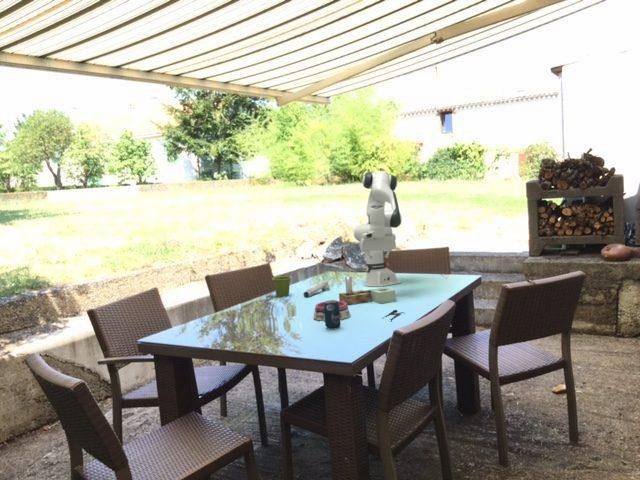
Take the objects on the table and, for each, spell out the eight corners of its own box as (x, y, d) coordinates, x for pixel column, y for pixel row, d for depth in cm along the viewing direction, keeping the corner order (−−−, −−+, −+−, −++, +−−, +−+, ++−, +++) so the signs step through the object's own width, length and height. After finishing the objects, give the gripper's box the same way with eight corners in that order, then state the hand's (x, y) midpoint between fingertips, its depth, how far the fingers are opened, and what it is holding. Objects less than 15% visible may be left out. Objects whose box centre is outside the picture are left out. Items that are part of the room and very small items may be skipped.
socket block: (362, 297, 301) (361, 290, 300) (371, 301, 289) (370, 293, 289) (339, 301, 296) (338, 293, 296) (347, 305, 285) (346, 297, 284)
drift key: (382, 296, 300) (382, 288, 299) (384, 297, 297) (384, 288, 297) (363, 299, 296) (362, 290, 295) (365, 300, 293) (364, 291, 293)
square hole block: (387, 298, 295) (386, 287, 294) (395, 301, 285) (395, 290, 285) (371, 300, 292) (370, 289, 291) (379, 303, 282) (378, 292, 282)
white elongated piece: (301, 291, 316) (323, 278, 336) (303, 301, 317) (324, 288, 338) (309, 291, 313) (330, 278, 334) (310, 302, 315) (331, 288, 335)
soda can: (335, 329, 236) (333, 303, 235) (322, 328, 240) (320, 302, 239) (343, 326, 242) (341, 300, 241) (330, 325, 245) (328, 299, 244)
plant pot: (270, 297, 324) (268, 279, 323) (278, 293, 335) (277, 276, 334) (287, 297, 319) (286, 279, 318) (295, 293, 330) (294, 276, 329)
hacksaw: (394, 312, 263) (394, 309, 262) (413, 313, 257) (413, 310, 257) (372, 324, 242) (372, 321, 242) (392, 325, 237) (392, 322, 237)
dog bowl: (358, 315, 261) (357, 301, 261) (333, 324, 248) (332, 309, 247) (331, 311, 274) (329, 298, 273) (305, 319, 261) (304, 306, 260)
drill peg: (351, 301, 294) (350, 276, 293) (354, 302, 291) (352, 277, 289) (345, 302, 293) (344, 277, 292) (348, 303, 289) (346, 278, 288)
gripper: (393, 232, 302) (394, 256, 303) (359, 234, 299) (359, 258, 300) (397, 233, 296) (397, 257, 297) (361, 235, 293) (362, 260, 294)
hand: (378, 258), depth 298 cm, fingers open, 8 cm apart
